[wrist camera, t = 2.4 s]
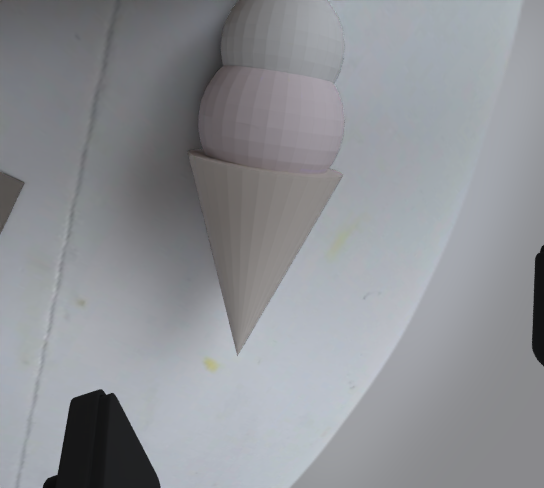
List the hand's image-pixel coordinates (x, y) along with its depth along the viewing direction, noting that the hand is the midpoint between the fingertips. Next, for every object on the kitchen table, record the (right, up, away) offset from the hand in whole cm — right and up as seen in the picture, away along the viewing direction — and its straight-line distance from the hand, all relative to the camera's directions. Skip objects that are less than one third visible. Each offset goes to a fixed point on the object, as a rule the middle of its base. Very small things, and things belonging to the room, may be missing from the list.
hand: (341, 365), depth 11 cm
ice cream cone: (-2, +6, +12) cm, 14 cm away
